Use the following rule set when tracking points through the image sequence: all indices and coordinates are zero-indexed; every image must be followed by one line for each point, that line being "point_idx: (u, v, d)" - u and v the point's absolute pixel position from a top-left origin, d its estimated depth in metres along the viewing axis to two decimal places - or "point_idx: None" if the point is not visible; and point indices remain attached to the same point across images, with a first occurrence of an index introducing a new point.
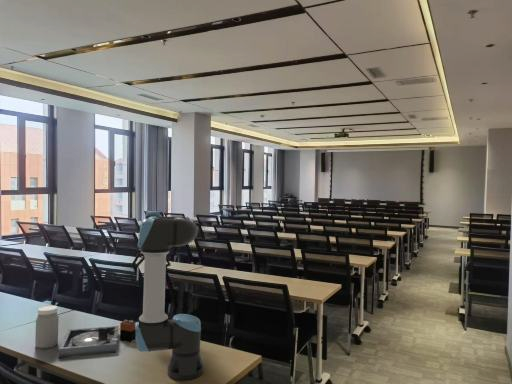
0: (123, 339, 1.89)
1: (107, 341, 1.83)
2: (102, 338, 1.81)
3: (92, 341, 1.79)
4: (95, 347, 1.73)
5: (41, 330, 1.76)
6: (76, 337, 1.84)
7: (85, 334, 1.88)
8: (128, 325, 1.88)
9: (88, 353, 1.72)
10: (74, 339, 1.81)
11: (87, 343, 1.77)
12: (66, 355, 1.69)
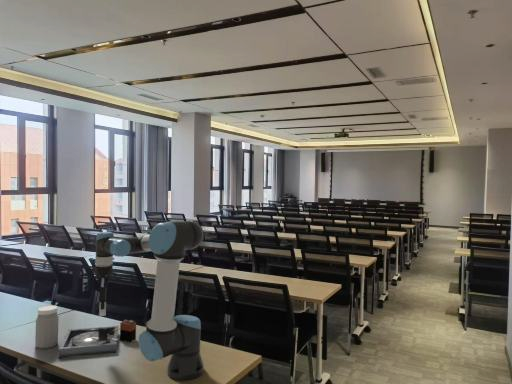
0: (123, 339, 1.89)
1: (107, 341, 1.83)
2: (102, 338, 1.81)
3: (92, 341, 1.79)
4: (95, 347, 1.73)
5: (41, 330, 1.76)
6: (76, 337, 1.84)
7: (85, 334, 1.88)
8: (128, 325, 1.88)
9: (88, 353, 1.72)
10: (74, 339, 1.81)
11: (87, 343, 1.77)
12: (66, 355, 1.69)
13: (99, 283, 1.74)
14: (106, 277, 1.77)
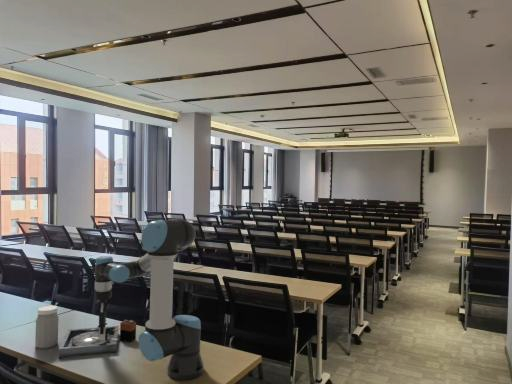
0: (123, 339, 1.89)
1: (107, 341, 1.83)
2: None
3: (92, 341, 1.79)
4: (95, 347, 1.73)
5: (41, 330, 1.76)
6: (76, 337, 1.84)
7: (85, 334, 1.88)
8: (128, 325, 1.88)
9: (88, 353, 1.72)
10: (74, 339, 1.81)
11: (87, 343, 1.77)
12: (66, 355, 1.69)
13: None
14: (105, 302, 1.77)
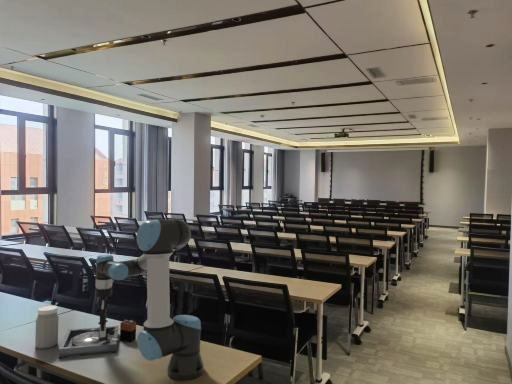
0: (123, 339, 1.89)
1: (107, 341, 1.83)
2: (102, 338, 1.82)
3: (93, 341, 1.79)
4: (95, 347, 1.73)
5: (41, 330, 1.76)
6: (76, 337, 1.83)
7: (85, 334, 1.88)
8: (128, 325, 1.88)
9: (88, 353, 1.72)
10: (74, 339, 1.81)
11: (87, 343, 1.77)
12: (66, 355, 1.69)
13: (99, 305, 1.78)
14: (106, 299, 1.81)
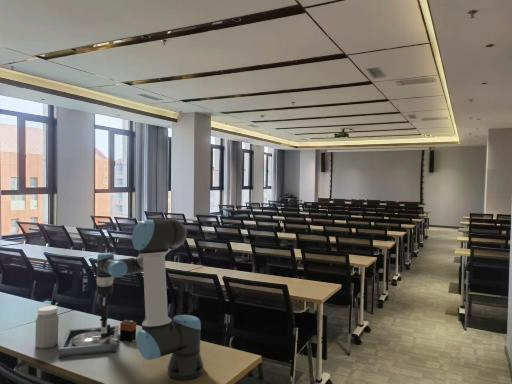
0: (123, 339, 1.89)
1: None
2: (105, 335, 1.86)
3: (99, 339, 1.82)
4: (95, 347, 1.73)
5: (41, 330, 1.76)
6: (75, 341, 1.79)
7: (78, 336, 1.84)
8: (128, 325, 1.88)
9: (88, 353, 1.72)
10: (76, 342, 1.77)
11: (96, 342, 1.79)
12: (66, 355, 1.69)
13: None
14: (107, 296, 1.86)
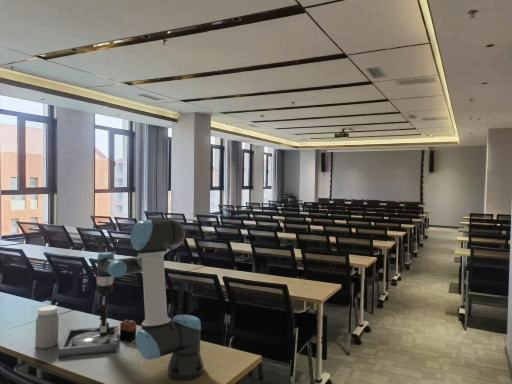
0: (123, 339, 1.89)
1: None
2: (104, 333, 1.88)
3: (101, 338, 1.84)
4: (95, 347, 1.73)
5: (41, 330, 1.76)
6: (77, 342, 1.77)
7: (76, 339, 1.82)
8: (128, 325, 1.88)
9: (88, 353, 1.72)
10: (81, 343, 1.76)
11: (101, 340, 1.81)
12: (66, 355, 1.69)
13: (100, 301, 1.84)
14: (107, 295, 1.87)
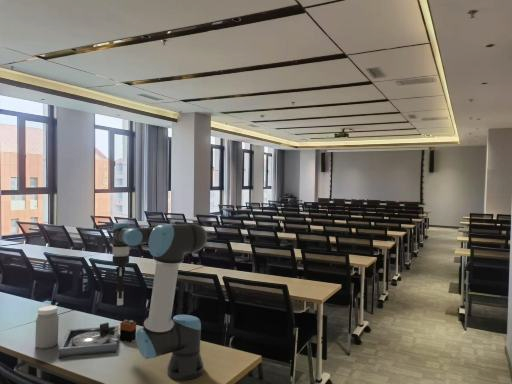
0: (123, 339, 1.89)
1: None
2: (105, 333, 1.88)
3: (101, 338, 1.84)
4: (95, 347, 1.73)
5: (41, 330, 1.76)
6: (77, 342, 1.77)
7: (76, 339, 1.82)
8: (128, 325, 1.88)
9: (88, 353, 1.72)
10: (81, 343, 1.76)
11: (101, 340, 1.81)
12: (66, 355, 1.69)
13: (117, 273, 1.78)
14: (123, 267, 1.81)
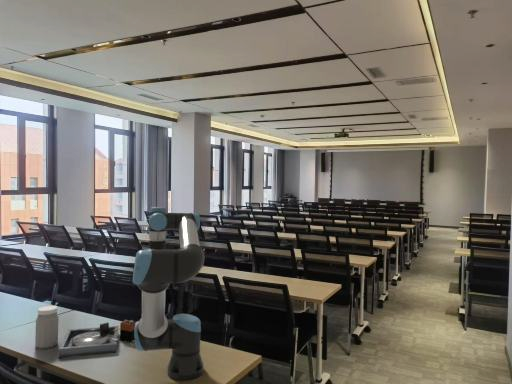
0: (123, 339, 1.89)
1: None
2: (105, 333, 1.88)
3: (101, 338, 1.84)
4: (95, 347, 1.73)
5: (41, 330, 1.76)
6: (77, 342, 1.77)
7: (76, 339, 1.82)
8: (128, 325, 1.88)
9: (88, 353, 1.72)
10: (81, 343, 1.76)
11: (101, 340, 1.81)
12: (66, 355, 1.69)
13: None
14: None
